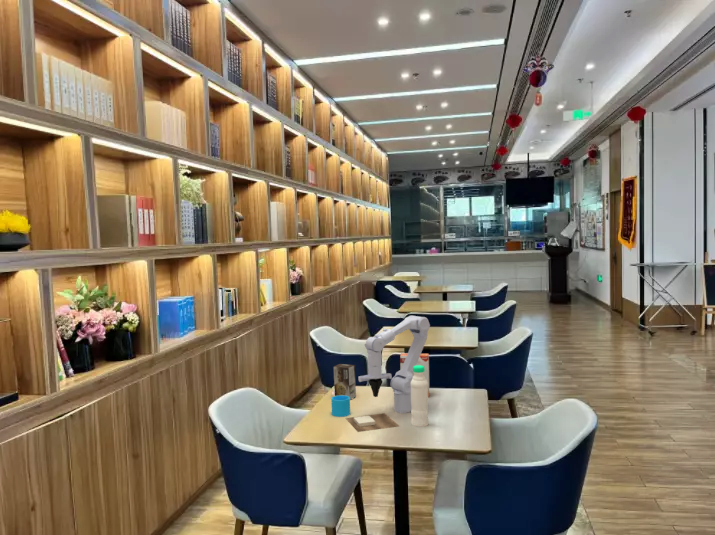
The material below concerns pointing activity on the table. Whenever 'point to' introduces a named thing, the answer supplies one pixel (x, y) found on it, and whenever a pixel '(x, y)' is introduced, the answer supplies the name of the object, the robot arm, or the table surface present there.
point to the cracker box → (422, 361)
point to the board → (380, 423)
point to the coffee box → (344, 380)
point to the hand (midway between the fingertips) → (375, 396)
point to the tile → (364, 421)
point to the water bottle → (419, 397)
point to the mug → (340, 406)
